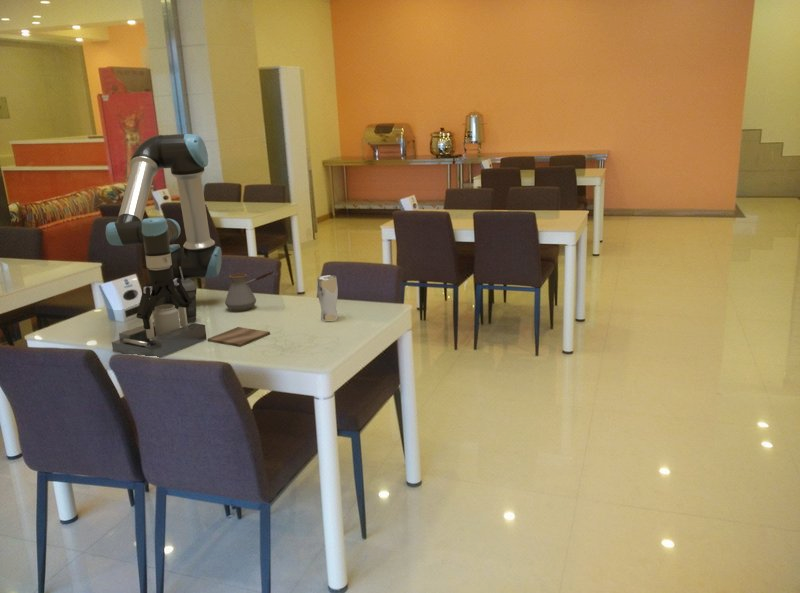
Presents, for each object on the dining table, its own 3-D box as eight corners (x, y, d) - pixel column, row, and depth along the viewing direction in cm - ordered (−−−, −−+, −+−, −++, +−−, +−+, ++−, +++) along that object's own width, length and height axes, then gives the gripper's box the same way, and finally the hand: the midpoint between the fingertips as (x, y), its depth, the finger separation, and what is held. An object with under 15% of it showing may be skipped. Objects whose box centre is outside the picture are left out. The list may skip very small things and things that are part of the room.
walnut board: (207, 341, 223) (207, 338, 222) (238, 329, 234) (238, 326, 234) (240, 346, 216) (240, 344, 215) (270, 334, 227) (269, 331, 227)
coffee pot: (220, 312, 256) (215, 272, 252) (234, 304, 267) (230, 266, 263) (273, 314, 251) (269, 273, 247) (286, 305, 262) (282, 267, 258)
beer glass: (316, 321, 239) (313, 279, 236) (324, 316, 246) (321, 274, 242) (334, 322, 237) (332, 280, 234) (342, 317, 244) (339, 275, 240)
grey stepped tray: (112, 351, 216) (110, 335, 215) (165, 332, 234) (164, 318, 232) (154, 359, 207) (152, 343, 205) (206, 339, 224) (205, 324, 223)
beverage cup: (197, 324, 242) (190, 268, 237) (176, 324, 242) (169, 268, 237) (202, 318, 249) (196, 263, 244) (182, 319, 249) (175, 264, 244)
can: (174, 346, 219) (169, 309, 216) (152, 345, 220) (147, 309, 217) (185, 338, 226) (181, 303, 223) (164, 338, 227) (160, 303, 224)
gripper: (135, 276, 205) (144, 345, 210) (198, 260, 225) (205, 323, 231) (118, 274, 208) (127, 342, 214) (181, 259, 229) (189, 320, 234)
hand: (168, 332), depth 222 cm, fingers open, 13 cm apart
